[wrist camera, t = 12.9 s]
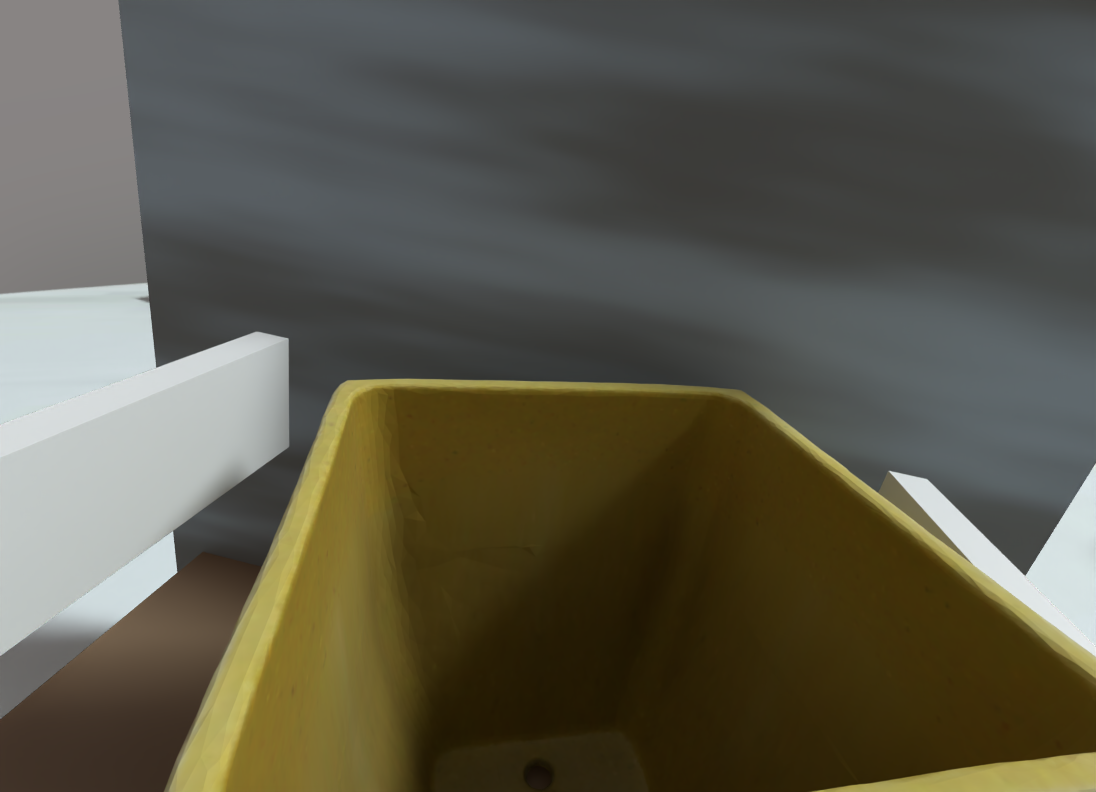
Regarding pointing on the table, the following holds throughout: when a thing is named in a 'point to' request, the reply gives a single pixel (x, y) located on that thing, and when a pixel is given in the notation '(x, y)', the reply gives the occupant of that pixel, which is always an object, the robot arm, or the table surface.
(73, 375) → the table surface
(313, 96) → the book stand
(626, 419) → the flower pot
